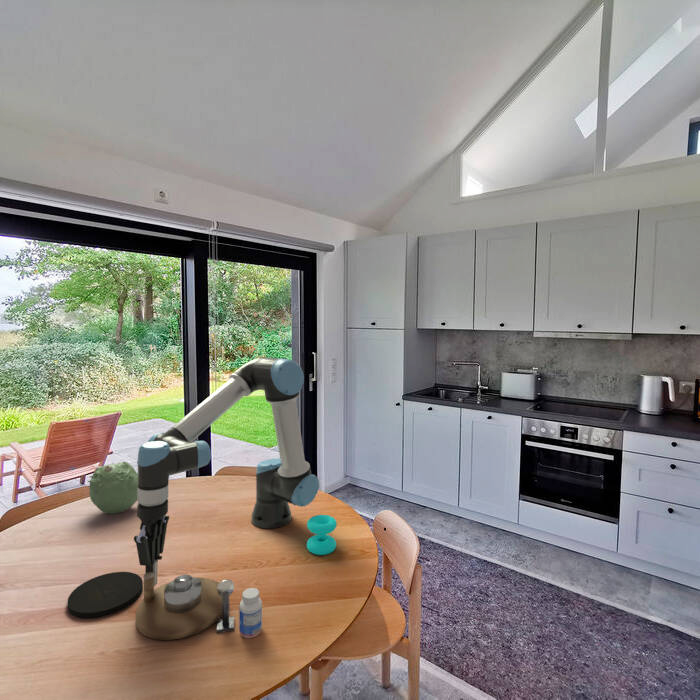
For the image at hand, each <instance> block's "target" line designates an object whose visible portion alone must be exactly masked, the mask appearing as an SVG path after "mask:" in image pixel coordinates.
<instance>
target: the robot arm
mask: <svg viewBox="0 0 700 700" xmlns="http://www.w3.org/2000/svg"><path fill="white" fill-rule="evenodd" d="M228 378H229V379H228V380H227V381H226V382H225V383H224V384H222V385H221V386H220V387H219V388H217V389H216V390H215V391H214V392H212V394H210V395H209V396H208V397H207V398H205V399H204V400H202V402H201V403H199V404H198V405H197V406H195V407H194V408H193V409H192V410H190V412H189V413H188V414H186V415H184V417H182V418H181V419H180V420H179V421H177V422H176V423H175V424H174V425H173V426H171V427H170V428H169V429H167V431H165V432H157V433H155V434H153V435H152V436H150V438H149V440H148V441H147V442H144V443H143V444H141V445H140V446H139V448H138V454H137V463H136V465H137V474H138V488H137V490H138V498H137V501H136V502H137V504H136V517H137V518H138V519H139V520H140V521H141V522H140V525H139V526H140V527H139V534H138V535H134V537H133V541H134V543H135V544H136V545H135V546H136V552H137V555H138V556H137V557H138V561H139V566H145V569H144V570H145V571H144V574H145V573H148V572H153V573H154V587H156V586H157V584H158V572H159V571H158V568H159V566H158V564H159V562H158V561H159V560H162V559H163V556H162V554H163V552H164V548H165V542H166V535H167V528H168V523H169V520H170V515H167V514H168V512H169V479H170V476H173V475H177V474H180V473H185V472H188V471H193V470H198V469H199V468H202V467H205V466H208V465H209V463H210V461H211V458H212V451H211V448H210V445H209V444H208V442H206V441H205V440H196V439H197V438H198V437H199V436H200V435H201V434H203V432H205V431H206V430H207V429H208V428H209V427H210V426H211V425H213V424H214V423H215V422H216V421H217V420H218V419H219V418H221V417H222V416H223V415H224V414H225V413H226V412H227V411H229V409H231V408H232V407H233V406H234V405H235V404H236V403H238V402H239V401H240V400H241V399H243V397H249V396H251V394H252V393H254V392H256V391H260V390H261V391H264V396H265V400H266V402H268V403H269V404H270V405H271V410H272V417H273V424H274V430H275V436H276V443H277V448H278V455H279V458H270V459H265V460H263V461H260V462H259V463H257V465H256V472H255V474H256V475H255V477H256V478H255V479H256V480H255V483H256V484H255V486H256V488H255V490H256V491H255V492H256V496H255V497H256V499H255V503H254V506H253V510H252V512H251V518H250V519H251V523H252V524H253V526H255V527H257V528H262V529H276V528H281V527H284V526H286V525H288V524H289V523H290V522H291V520H292V511H291V508H290V505H289V504H291V505H293V506H298V507H301V508H302V507H306V506H309V505H310V504H311V503H312V502H313V501H314V500H315V498H316V496H317V495H318V492H319V489H320V480H319V478H318V476H316V474H312V470H311V465H310V463H309V462H308V461H306V459H305V453H304V445H303V440H302V439H303V438H302V433H301V426H300V419H299V412H298V406H297V398H299V396H300V392H301V390H302V388H303V384H304V383H305V380H304V379H305V375H304V371H303V369H302V367H301V365H299V364H298V363H297V362H296V361H294V360H291V359H288V358H282V357H281V358H279V357H278V358H277V357H267V356H260V357H257V358H253V359H252V360H250V361H248V362H246V363H244V364H243V365H242V366H240V367H239V368H237V369H236V370H235V371H234V372H232V373H231V374H230V375H229V377H228Z"/></svg>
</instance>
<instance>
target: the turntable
mask: <svg viewBox="0 0 700 700" xmlns="http://www.w3.org/2000/svg"><path fill="white" fill-rule="evenodd" d="M195 578H198V579H199V580H200V581H201V601H200V603H199V604H198V606H196V607H195V608H194V609H192V610H190V611H187V612H184V613H170V612H168V611H166V610H165V607H164V589H165V587H166V586H167V585H168V584H169V583H170V582H167V583H165V584H163V585H160V586H159V587H156V588H155V586H154V573H153V572H148V573H145V572H144V574H143V598H142V600H141V601H140V603H138V605H137V608H136V611H135V626H136V628H137V630H138V631H139V633H141V634H142V635H144V636H146V637H148V638H151V639H154V640H163V641H165V640H166V641H167V640H169V641H171V640H178V639H183V638H188V637H189V636H193V635H196V634H199V633H201V632H202V631H203V630H206V629H208V628H209V627H211V626H212V625H213V624H214V623H216V622H217V621H218V619H219V618H221V617H222V596H220V595H219V594H218V592H217V587H218V584H219V583H220V582H219V581H217V580H215V579H211V578H207V577H195Z"/></svg>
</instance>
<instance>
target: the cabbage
mask: <svg viewBox="0 0 700 700" xmlns="http://www.w3.org/2000/svg"><path fill="white" fill-rule="evenodd" d="M89 478H90V480H88V481H87V482H88V483H89V486H88V490H89V499H90V500H91V502H92V503H93V505H94V506H95V507H96V508H97V509H98V510H100V511H101V512H103V513H106V514H108V515H118V514H120V513H123V512H125V511H127V510H129V509H131V508H132V507H133V506H134V505H135V504H136V503H137V502H138V501H137V498H138V490H137V488H138V472H137V471H136V469H135V468H134V467H133V465H131V464H130V463H129V462H127V461H121V462H117V463H110V464H106V465H102V466H97V467H95V469H94V473H92V475H91V476H89Z"/></svg>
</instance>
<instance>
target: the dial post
mask: <svg viewBox="0 0 700 700" xmlns="http://www.w3.org/2000/svg"><path fill="white" fill-rule="evenodd" d="M218 583H219V584H218V587H217V592H218V594H219V595H220V596H222V615H221V617H220V618H219V619H218V620H217V621H216V622H217V624H216V633H217V634H219V633H225V632H226V633H227V632H232V631H235V616H234V615H233V616H230V596H231V595H232V594H233V593H234V591H235V584H234V581H232V579H228V578H226V579H223V580H221V581H220V582H218Z"/></svg>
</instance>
